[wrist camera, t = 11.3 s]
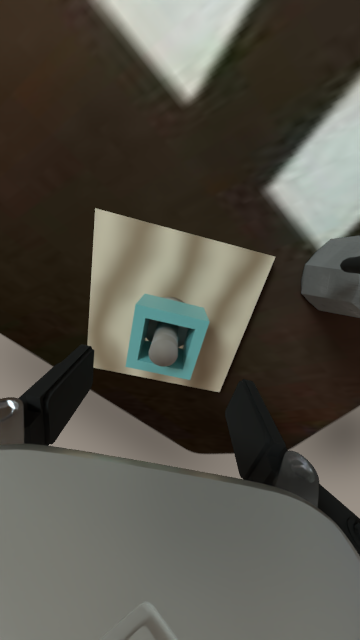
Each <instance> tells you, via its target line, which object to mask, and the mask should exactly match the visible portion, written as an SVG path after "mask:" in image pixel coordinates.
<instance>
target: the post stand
mask: <svg viewBox="0 0 360 640" xmlns="http://www.w3.org/2000/svg"><path fill="white" fill-rule="evenodd" d="M274 259H275V257H274V256H270V255H267V254H263V253H259V252H255V251H252V250H248V249H244V248H241V247H237V246H233V245H229V244H226V243H222V242H218V241H215V240H211V239H207V238H203V237H200V236H196V235H192V234H189V233H185V232H181V231H177V230H174V229H170V228H166V227H163V226H159V225H155V224H151V223H148V222H144V221H140V220H137V219H133V218H129V217H125V216H122V215H118V214H114V213H111V212H107V211H103V210H99V209H96V208H95V223H94V240H93V258H92V275H91V293H90V310H89V328H88V346H91V347H92V349H94V366H93V368H98V369H103V370H109V371H114V372H119V373H124V374H129V375H134V376H139V377H144V378H149V379H154V380H159V381H165V382H170V383H175V384H180V385H185V386H190V387H195V388H200V389H205V390H210V391H215V392H220V390H221V387H222V385H223V383H224V380H225V378H226V375H227V373H228V370H229V368H230V366H231V363H232V361H233V358H234V356H235V354H236V351H237V349H238V346H239V344H240V341H241V339H242V337H243V334H244V332H245V329H246V327H247V325H248V322H249V320H250V317H251V315H252V312H253V310H254V308H255V305H256V303H257V300H258V298H259V296H260V293H261V291H262V288H263V286H264V283H265V281H266V279H267V276H268V274H269V271H270V269H271V267H272V264H273V262H274ZM144 294H149V295H153V296H158V297H162V298H166V299H170V300H174V301H178V302H182V303H186V304H190V305H195V306H199V307H203V308H204V309H205V312H206V314H207V317H208V319H209V321H210V322H209V325H208V328H207V331H206V334H205V337H204V340H203V343H202V346H201V349H200V352H199V355H198V358H197V361H196V364H195V367H194V370H193V373H192V376H191V379H190V380H187V379H182V378H177V377H172V376H168V375H163V374H158V373H153V372H148V371H143V370H138V369H133V368H129V367H125V366H126V360H127V354H128V348H129V341H130V335H131V329H132V323H133V317H134V311H135V305H136V303H137V302H138V301H139V300H140V298H141V297H142V296H143V295H144ZM187 331H188V328H187V327H183V326H178V325H174V324H170V323H165V322H161V321H157V320H152V319H150V320H149V325H148V330H147V335H146V341H151V342H152V343H151V346H150V349H149V358H150V360H151V361H152V362H153V363H154V364H156V365H158V366H162V367H165V366H170V365H172V364H173V363H174V362H175V361H176V359H177V356H178V348H183V345H184V341H185V338H186V334H187Z"/></svg>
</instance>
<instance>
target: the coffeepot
mask: <svg viewBox="0 0 360 640" xmlns="http://www.w3.org/2000/svg"><path fill="white" fill-rule="evenodd" d="M301 287H302V291H301V294H302V295H303V296H304V297H305V298H306V299H307V300H308V301H309V302H310V303H311V304H312V305H313V306H314V307H315V308H317V309H318V310H320V311H326V312H331V313H336V314H341V315H346V316H351V317H357V318H360V236H352V237H344V238H336V239H330V240H329V241H328V242H327V243H326V244H325V245H324V246H322V247H321V248H320V249H319V250H318V251H317V252H316V253H315V254H314V255H313V256H312V257H311V258H310V260H309V261H308V262H307V263H306V264H305V267H304V271H303V275H302V280H301Z"/></svg>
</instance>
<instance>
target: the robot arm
mask: <svg viewBox="0 0 360 640" xmlns="http://www.w3.org/2000/svg"><path fill="white" fill-rule="evenodd" d="M93 366H94V349H92V347H91V346H87V345H83V344H82V345H80V346H79V347H78V348H77V349H75V350H74V351H73V352H72V353H71V354H70V355H69V356H68V357H67V358H66V359H65V360H63V361H62V362H61V363H58V364H56V365H55V366H54V367H53V368H52V369H51V370H50V371H48V372H47V373H46V374H45V375H44V376H43V377H42V378H41V379H40V380H38V381H37V382H36V383H35V384H34V385H33V386H32V387H31V388H30V389H28V390H27V391H26V392H25V393H24V394H23V395H22V396H21V397H19V398H3V399H0V640H360V519H359V518H358V517H357V516H356V515H355V514H354V513H353V512H351V511H350V510H349V509H348V508H347V507H346V506H344V505H343V504H342V503H341V502H340V501H339V500H337V499H336V498H335V497H334V496H333V495H332V494H330V493H329V492H328V491H327V490H326V489H324V487H322V486H321V485H320V484H319V478H318V475H317V473H316V471H315V469H314V467H313V466H312V465H311V464H310V462H309V461H308V460H307V459H305V458H304V457H303V456H302V455H300V454H299V453H297V452H294V451H288V450H287V448H286V445H285V443H284V441H283V439H282V437H281V435H280V433H279V431H278V429H277V427H276V425H275V423H274V421H273V419H272V417H271V415H270V413H269V412H268V410H267V408H266V406H265V404H264V402H263V400H262V398H261V396H260V394H259V392H258V390H257V388H256V386H255V384H254V383H253V381H249V380H245V379H243V380H242V381H240V382H239V383H238V385H237V387H236V390H235V392H234V394H233V396H232V398H231V400H230V402H229V405H228V407H227V409H226V412H225V416H226V420H227V425H228V429H229V433H230V437H231V441H232V445H233V449H234V453H235V457H236V462H237V466H238V470H239V474H240V476H241V478H243V479H237V478H232V477H227V476H222V475H216V474H210V473H205V472H199V471H194V470H189V469H183V468H178V467H172V466H166V465H161V464H155V463H149V462H144V461H137V460H133V459H126V458H121V457H115V456H109V455H103V454H97V453H92V452H85V451H79V450H72V449H66V448H59V447H53V446H48V445H49V444H53V443H54V442H55V440H56V439H57V437H58V436H59V434H60V433H61V431H62V430H63V429H64V427H65V426H66V424H67V423H68V421H69V420H70V418H71V417H72V415H73V414H74V412H75V411H76V409H77V408H78V406H79V405H80V403H81V402H82V400H83V399H84V397H85V396H86V394H87V393H88V391H89V390H90V388H91V386H92V381H93Z"/></svg>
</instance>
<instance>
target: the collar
mask: <svg viewBox="0 0 360 640" xmlns="http://www.w3.org/2000/svg"><path fill="white" fill-rule="evenodd" d="M150 319H152V320H157V321H161V322H165V323H170V324H174V325H178V326H183V327H187V328H188V331H187V334H186V338H185V341H184V345H183V348H178V356H177V359H176V361H175V362H174V363H173V364H172V365H170V366H165V367H162V366H158V365H156V364H154V363H153V362H152V361H151V360H150V358H149V349H150V346H151V343H152V342H151V341H146V335H147V330H148V325H149V320H150ZM209 322H210V321H209V319H208V317H207V314H206V312H205V309H204V308H203V307H199V306H195V305H190V304H186V303H182V302H178V301H174V300H170V299H166V298H162V297H158V296H153V295H149V294H144V295H143V296H142V297H141V298H140V300H139V301H138V302H137V303H136V305H135V311H134V317H133V323H132V329H131V335H130V341H129V348H128V354H127V360H126V366H125V367H129V368H133V369H138V370H143V371H148V372H153V373H158V374H163V375H168V376H172V377H177V378H182V379H187V380H190V379H191V376H192V373H193V370H194V367H195V364H196V361H197V358H198V355H199V352H200V349H201V346H202V343H203V340H204V337H205V334H206V331H207V328H208V325H209Z"/></svg>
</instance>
